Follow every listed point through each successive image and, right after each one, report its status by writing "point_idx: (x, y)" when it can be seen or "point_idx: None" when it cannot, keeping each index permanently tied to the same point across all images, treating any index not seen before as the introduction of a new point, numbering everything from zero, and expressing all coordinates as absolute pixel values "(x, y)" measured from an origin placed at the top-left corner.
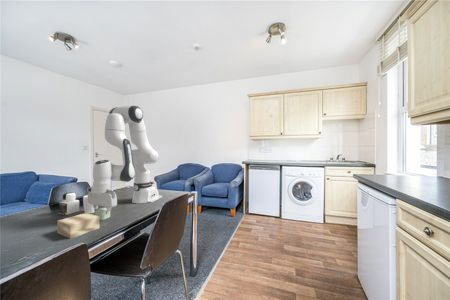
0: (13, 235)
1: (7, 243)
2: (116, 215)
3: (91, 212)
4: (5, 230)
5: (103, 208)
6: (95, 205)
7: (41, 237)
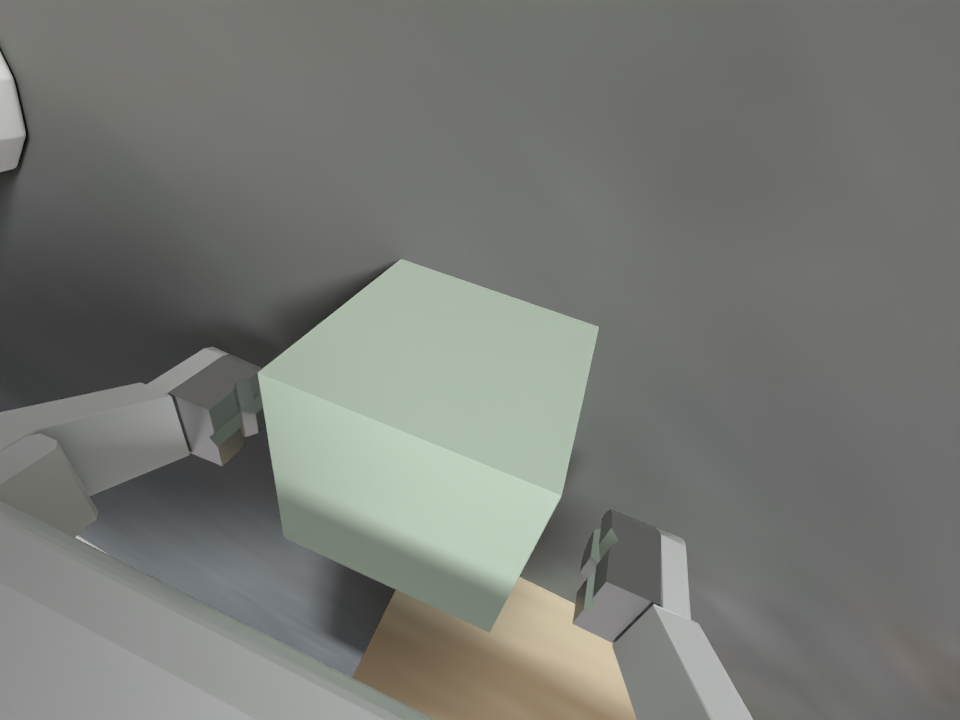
0: (190, 593)
1: None
2: (716, 209)
3: (12, 137)
4: None
5: (328, 455)
6: (74, 513)
7: None
